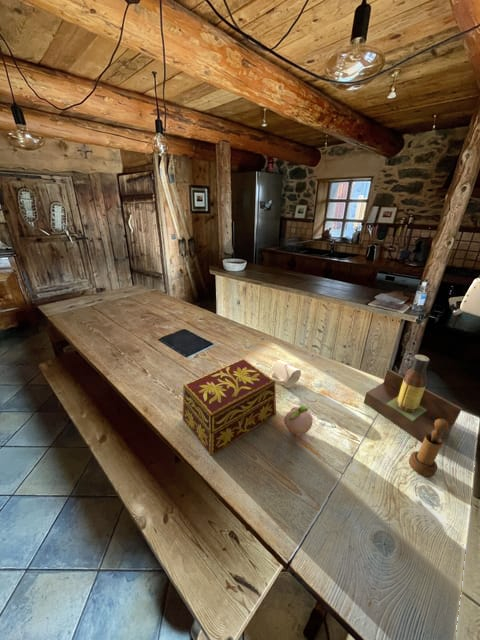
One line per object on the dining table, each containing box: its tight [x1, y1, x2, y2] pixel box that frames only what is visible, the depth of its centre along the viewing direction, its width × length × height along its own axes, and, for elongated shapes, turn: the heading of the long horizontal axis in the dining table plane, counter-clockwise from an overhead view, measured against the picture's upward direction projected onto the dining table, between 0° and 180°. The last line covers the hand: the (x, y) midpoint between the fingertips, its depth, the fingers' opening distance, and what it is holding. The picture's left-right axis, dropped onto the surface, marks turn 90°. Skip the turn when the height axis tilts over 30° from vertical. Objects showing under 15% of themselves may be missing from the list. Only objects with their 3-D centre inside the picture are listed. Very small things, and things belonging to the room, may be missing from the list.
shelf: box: [363, 368, 463, 444], centre depth 92 cm, size 24×12×11 cm, turn 32°
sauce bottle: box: [397, 354, 430, 412], centre depth 88 cm, size 6×6×20 cm
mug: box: [269, 359, 302, 389], centre depth 109 cm, size 12×9×8 cm
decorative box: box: [181, 358, 277, 456], centre depth 90 cm, size 28×19×15 cm
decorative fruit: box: [283, 405, 313, 435], centre depth 86 cm, size 9×8×10 cm
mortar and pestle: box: [408, 419, 449, 478], centre depth 73 cm, size 7×6×18 cm
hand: (472, 333), depth 79 cm, fingers open, 9 cm apart
